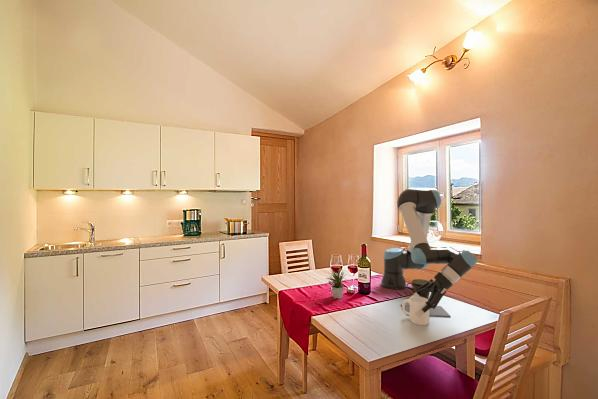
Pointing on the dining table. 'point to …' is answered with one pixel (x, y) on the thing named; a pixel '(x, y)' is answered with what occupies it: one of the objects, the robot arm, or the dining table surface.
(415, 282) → the ceramic cup
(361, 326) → the dining table surface
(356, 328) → the dining table surface
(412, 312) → the cup
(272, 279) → the dining table surface
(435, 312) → the mat
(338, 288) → the house plant
